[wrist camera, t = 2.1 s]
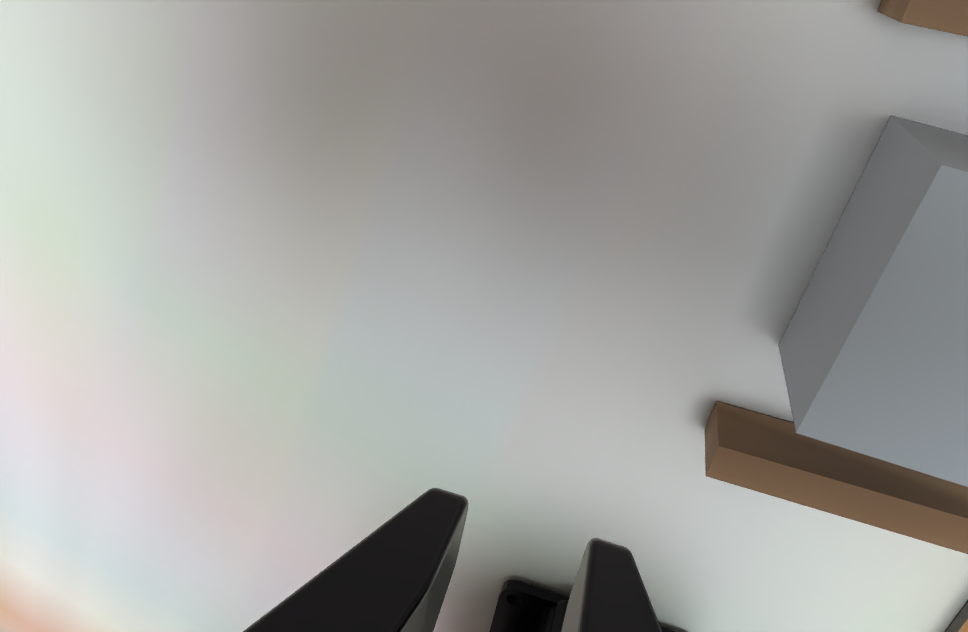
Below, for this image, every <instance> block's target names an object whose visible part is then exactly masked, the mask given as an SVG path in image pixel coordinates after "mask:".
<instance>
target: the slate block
mask: <svg viewBox="0 0 968 632" xmlns="http://www.w3.org/2000/svg"><path fill="white" fill-rule="evenodd" d="M779 350H780V355H781V360H782V365H783V370H784V375H785V380H786V385H787V390H788V395H789V400H790V405H791V410H792V415H793V420H794V425H795V430H796V433H798V434H801V435H804V436H807V437H811V438H814V439H817V440H820V441H823V442H826V443H830V444H833V445H836V446H839V447H842V448H846V449H849V450H852V451H855V452H858V453H861V454H865V455H868V456H871V457H874V458H877V459H881V460H884V461H887V462H890V463H893V464H896V465H900V466H903V467H906V468H909V469H912V470H916V471H919V472H922V473H925V474H928V475H931V476H935V477H938V478H941V479H944V480H947V481H950V482H954V483H957V484H960V485H963V486H966V487H968V136H967V135H963V134H960V133H956V132H952V131H948V130H944V129H941V128H937V127H933V126H929V125H925V124H921V123H918V122H914V121H910V120H906V119H902V118H899V117H895V116H890V118H889V120H888V122H887V124H886V126H885V128H884V130H883V132H882V134H881V136H880V138H879V141H878V143H877V145H876V147H875V149H874V151H873V153H872V155H871V157H870V159H869V161H868V163H867V165H866V167H865V169H864V171H863V173H862V175H861V177H860V179H859V181H858V183H857V186H856V188H855V190H854V192H853V194H852V196H851V198H850V200H849V202H848V204H847V206H846V208H845V210H844V212H843V214H842V216H841V218H840V220H839V222H838V224H837V226H836V228H835V231H834V233H833V235H832V237H831V239H830V241H829V243H828V245H827V247H826V249H825V251H824V253H823V255H822V257H821V259H820V261H819V263H818V265H817V267H816V269H815V271H814V273H813V276H812V278H811V280H810V282H809V284H808V286H807V288H806V290H805V292H804V294H803V296H802V298H801V300H800V302H799V304H798V306H797V308H796V310H795V312H794V314H793V316H792V318H791V321H790V323H789V325H788V327H787V329H786V331H785V333H784V335H783V337H782V339H781V341H780V343H779Z"/></svg>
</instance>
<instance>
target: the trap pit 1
mask: <svg viewBox="0 0 968 632" xmlns="http://www.w3.org/2000/svg"><path fill="white" fill-rule="evenodd" d="M945 632H968V602H967V603H966V605H965V606H964V607H963V609H962V610H961V611H960V613H959V614H958V615H957V617H956V618H955V619H954V621H953V622H952V623H951V625H950V626H949V627H948V629H947V630H946V631H945Z"/></svg>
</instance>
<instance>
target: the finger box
mask: <svg viewBox="0 0 968 632" xmlns="http://www.w3.org/2000/svg"><path fill="white" fill-rule="evenodd" d="M878 12H880V13H882V14H884V15H886V16H888V17H890V18H893V19H895V20H897V21H899V22H901V23H906V24H911V25H916V26H920V27H925V28H930V29H935V30H939V31H944V32H949V33H954V34H958V35H963V36H968V0H882V1H881V4H880V6H879V8H878ZM705 465H706V476H708V477H711V478H714V479H718V480H721V481H724V482H728V483H731V484H734V485H738V486H741V487H745V488H748V489H751V490H755V491H758V492H761V493H765V494H768V495H771V496H775V497H778V498H781V499H785V500H788V501H792V502H795V503H798V504H802V505H805V506H808V507H812V508H815V509H818V510H822V511H825V512H828V513H832V514H835V515H838V516H842V517H845V518H849V519H852V520H855V521H859V522H862V523H865V524H869V525H872V526H875V527H879V528H882V529H885V530H889V531H892V532H896V533H899V534H902V535H906V536H909V537H912V538H916V539H919V540H922V541H926V542H929V543H932V544H936V545H939V546H943V547H946V548H949V549H953V550H956V551H959V552H963V553H966V554H968V487H966V486H963V485H960V484H957V483H954V482H950V481H947V480H944V479H941V478H938V477H935V476H931V475H928V474H925V473H922V472H919V471H916V470H912V469H909V468H906V467H903V466H900V465H896V464H893V463H890V462H887V461H884V460H881V459H877V458H874V457H871V456H868V455H865V454H861V453H858V452H855V451H852V450H849V449H846V448H842V447H839V446H836V445H833V444H830V443H826V442H823V441H820V440H817V439H814V438H811V437H807V436H804V435H801V434H798V433H796V430H795V425H794V423H791V422H788V421H784V420H781V419H777V418H774V417H770V416H767V415H763V414H760V413H756V412H752V411H749V410H745V409H742V408H738V407H735V406H731V405H728V404H724V403H721V402H716V404H715V406H714V409H713V411H712V414H711V416H710V419H709V421H708V423H707V426H706V428H705Z"/></svg>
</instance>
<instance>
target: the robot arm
mask: <svg viewBox="0 0 968 632" xmlns="http://www.w3.org/2000/svg"><path fill="white" fill-rule="evenodd" d="M467 511H468V500H467V499H466V498H465V497H464V496H461V495H458V494H455V493H452V492H448V491H445V490H442V489H439V488H432V489H429V490H428V491H427V492H425V493H424V494H423V495H421V496H420V497H419V498H417V499H416V500H415V501H413V502H412V503H411V504H409V505H408V506H407V507H406V508H404V509H403V510H402V511H400V512H399V513H398V514H396V515H395V516H394V517H392V518H391V519H390V520H388V521H387V522H386V523H385V524H383V525H382V526H381V527H379V528H378V529H377V530H375V531H374V532H373V533H371V534H370V535H369V536H368V537H366V538H365V539H364V540H362V541H361V542H360V543H358V544H357V545H356V546H354V547H353V548H352V549H350V550H349V551H348V552H347V553H345V554H344V555H343V556H341V557H340V558H339V559H337V560H336V561H335V562H333V563H332V564H331V565H330V566H328V567H327V568H326V569H324V570H323V571H322V572H320V573H319V574H318V575H316V576H315V577H314V578H313V579H311V580H310V581H309V582H307V583H306V584H305V585H303V586H302V587H301V588H299V589H298V590H297V591H295V592H294V593H293V594H292V595H290V596H289V597H288V598H286V599H285V600H284V601H282V602H281V603H280V604H278V605H277V606H276V607H275V608H273V609H272V610H271V611H269V612H268V613H267V614H265V615H264V616H263V617H261V618H260V619H259V620H257V621H256V622H255V623H254V624H252V625H251V626H250V627H248V628H247V629H246V630H244V631H243V632H433V630H434V627H435V624H436V621H437V618H438V615H439V612H440V609H441V606H442V603H443V600H444V597H445V594H446V591H447V588H448V585H449V582H450V579H451V576H452V573H453V570H454V567H455V563H456V560H457V556H458V552H459V547H460V543H461V538H462V534H463V529H464V525H465V520H466V515H467ZM513 594H514V595H517V596H514V595H513ZM490 632H674V631H671V630H668V629H665V628H662V627H660V625H659V623H658V620H657V618H656V615H655V613H654V610H653V607H652V605H651V602H650V600H649V597H648V594H647V592H646V589H645V587H644V584H643V581H642V579H641V576H640V574H639V571H638V568H637V566H636V563H635V561H634V558H633V556H632V553H631V552H630V551H629V550H628V549H627V548H626V547H623V546H620V545H617V544H614V543H611V542H607V541H604V540H601V539H598V538H594V539H591V540H590V541H589V543H588V545H587V547H586V550H585V553H584V556H583V559H582V561H581V564H580V567H579V570H578V573H577V576H576V579H575V582H574V585H573V588H572V591H571V594H570V597H568V596H564V595H561V594H558V593H555V592H552V591H549V590H546V589H543V588H540V587H537V586H534V585H531V584H528V583H525V582H522V581H518V580H508V581H506V582H504V584H503V585H502V588H501V592H500V595H499V599H498V603H497V606H496V610H495V614H494V617H493V621H492V625H491V628H490Z"/></svg>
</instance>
